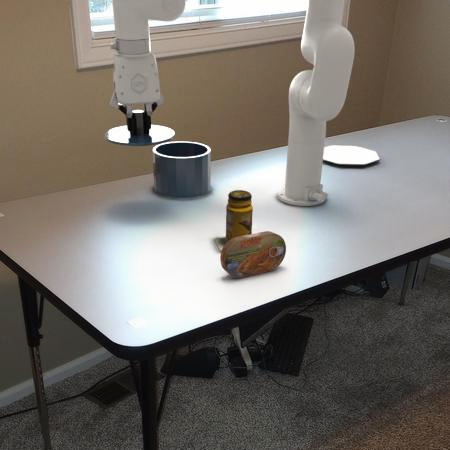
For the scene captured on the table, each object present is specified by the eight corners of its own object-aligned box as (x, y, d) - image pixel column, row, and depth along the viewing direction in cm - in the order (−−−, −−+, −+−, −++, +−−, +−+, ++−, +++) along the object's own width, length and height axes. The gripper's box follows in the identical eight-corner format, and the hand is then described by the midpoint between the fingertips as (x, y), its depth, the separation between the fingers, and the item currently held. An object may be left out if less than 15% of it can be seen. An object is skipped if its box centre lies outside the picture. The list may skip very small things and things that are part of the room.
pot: (221, 192, 181) (222, 151, 174) (174, 203, 173) (173, 161, 167) (189, 177, 191) (189, 138, 184) (144, 187, 183) (141, 147, 177)
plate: (382, 169, 201) (383, 164, 200) (319, 167, 201) (319, 162, 200) (372, 150, 216) (372, 146, 215) (313, 149, 216) (313, 144, 215)
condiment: (256, 249, 151) (258, 197, 143) (220, 251, 149) (221, 200, 142) (248, 236, 156) (250, 186, 149) (213, 239, 155) (214, 189, 147)
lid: (188, 140, 156) (187, 113, 152) (127, 153, 147) (125, 124, 144) (151, 125, 166) (149, 99, 163) (92, 136, 158) (89, 109, 154)
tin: (224, 281, 137) (225, 243, 132) (217, 275, 139) (218, 238, 134) (285, 268, 142) (288, 231, 137) (278, 262, 145) (280, 226, 140)
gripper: (101, 52, 140) (110, 140, 151) (173, 47, 145) (176, 134, 156) (93, 46, 146) (102, 132, 157) (163, 42, 150) (167, 126, 161)
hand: (139, 132), depth 156 cm, fingers closed on lid, 2 cm apart
